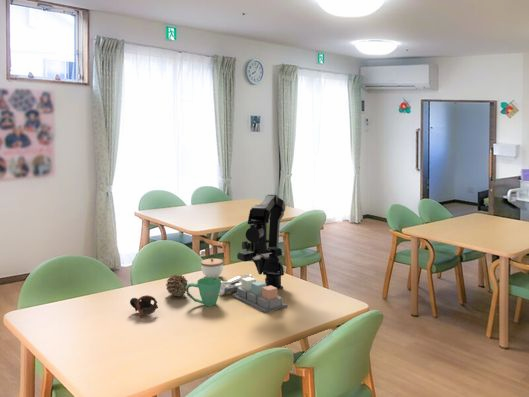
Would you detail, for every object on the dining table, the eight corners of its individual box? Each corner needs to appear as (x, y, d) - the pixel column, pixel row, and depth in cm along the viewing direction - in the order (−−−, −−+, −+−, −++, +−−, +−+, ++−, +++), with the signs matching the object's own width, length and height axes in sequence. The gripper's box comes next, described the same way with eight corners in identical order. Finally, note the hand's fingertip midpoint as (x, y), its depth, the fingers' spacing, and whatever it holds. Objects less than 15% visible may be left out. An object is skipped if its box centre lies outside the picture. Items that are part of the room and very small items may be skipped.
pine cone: (192, 299, 217) (192, 277, 216) (170, 303, 213) (169, 280, 212) (180, 284, 237) (179, 264, 236) (159, 287, 234) (158, 266, 232)
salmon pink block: (270, 297, 211) (270, 285, 210) (277, 300, 207) (277, 288, 206) (261, 299, 208) (261, 287, 207) (268, 302, 205) (268, 290, 204)
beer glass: (219, 296, 225) (248, 289, 233) (225, 295, 219) (255, 288, 227) (215, 281, 226) (245, 274, 234) (222, 279, 220) (252, 272, 228)
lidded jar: (198, 279, 245) (198, 260, 243) (204, 273, 255) (204, 254, 254) (220, 280, 243) (220, 261, 242) (225, 274, 253) (225, 255, 252)
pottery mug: (162, 310, 207) (162, 296, 202) (151, 328, 200) (151, 314, 194) (134, 301, 209) (134, 287, 204) (123, 318, 201) (122, 305, 196)
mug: (219, 299, 218) (219, 276, 216) (223, 307, 208) (223, 283, 207) (185, 302, 214) (184, 279, 213) (187, 310, 205) (186, 286, 203)
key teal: (260, 292, 217) (260, 280, 216) (266, 295, 213) (266, 283, 212) (251, 294, 214) (251, 282, 213) (257, 297, 210) (257, 285, 210)
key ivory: (250, 287, 223) (249, 276, 222) (256, 290, 219) (255, 279, 218) (241, 289, 220) (241, 278, 219) (247, 292, 216) (247, 281, 216)
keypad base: (253, 291, 227) (253, 282, 226) (287, 306, 208) (287, 297, 207) (232, 296, 220) (232, 287, 220) (265, 313, 201) (265, 303, 201)
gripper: (267, 231, 220) (267, 266, 222) (230, 236, 210) (230, 273, 212) (282, 235, 211) (282, 272, 213) (244, 241, 201) (244, 279, 203)
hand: (260, 274), depth 210 cm, fingers closed
